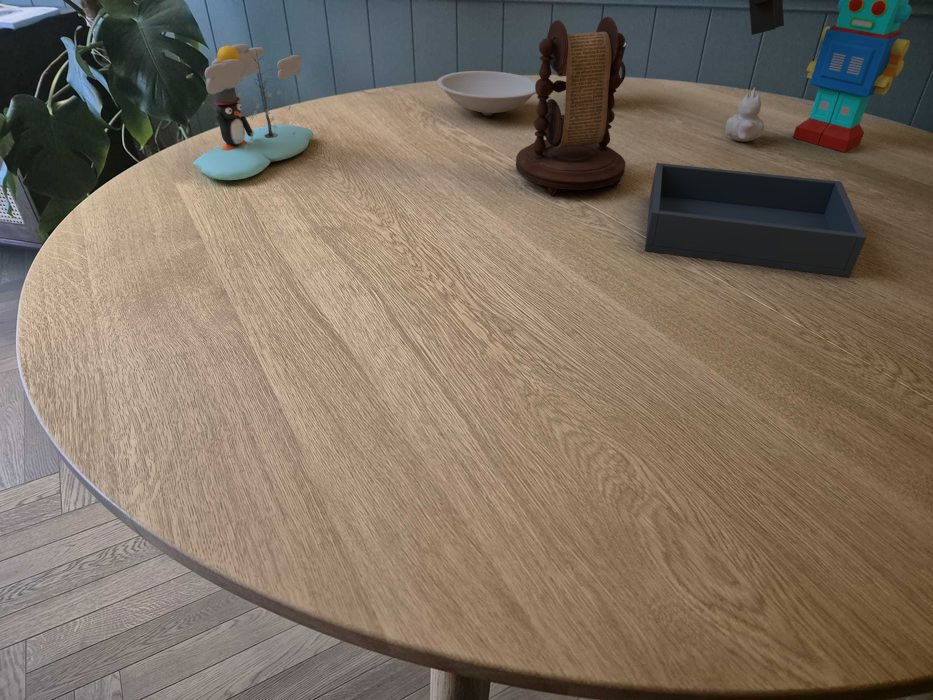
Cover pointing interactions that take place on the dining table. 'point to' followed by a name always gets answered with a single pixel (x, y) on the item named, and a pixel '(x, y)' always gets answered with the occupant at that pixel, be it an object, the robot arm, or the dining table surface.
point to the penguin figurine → (254, 146)
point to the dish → (487, 90)
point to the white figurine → (746, 120)
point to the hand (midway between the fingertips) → (768, 30)
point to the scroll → (576, 111)
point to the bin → (753, 219)
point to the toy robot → (853, 69)
